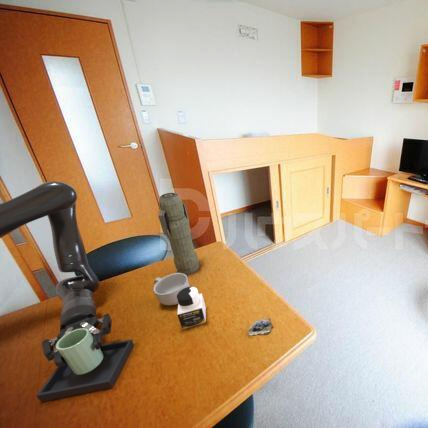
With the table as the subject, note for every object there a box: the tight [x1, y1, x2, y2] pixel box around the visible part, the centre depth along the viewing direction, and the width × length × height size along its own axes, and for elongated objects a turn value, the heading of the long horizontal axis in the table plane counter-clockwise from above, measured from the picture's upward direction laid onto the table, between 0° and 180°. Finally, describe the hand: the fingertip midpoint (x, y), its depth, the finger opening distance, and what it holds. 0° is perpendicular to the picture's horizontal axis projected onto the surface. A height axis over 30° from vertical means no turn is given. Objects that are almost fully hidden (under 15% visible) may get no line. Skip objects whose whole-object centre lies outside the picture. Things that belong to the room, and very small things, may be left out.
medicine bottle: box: [176, 286, 207, 330], centre depth 79 cm, size 7×7×12 cm
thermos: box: [157, 192, 200, 276], centre depth 98 cm, size 9×12×35 cm
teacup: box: [153, 272, 191, 306], centre depth 88 cm, size 14×11×8 cm
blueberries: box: [247, 318, 274, 336], centre depth 78 cm, size 7×8×2 cm
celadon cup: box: [55, 328, 103, 375], centre depth 62 cm, size 6×6×10 cm
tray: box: [35, 339, 135, 402], centre depth 65 cm, size 15×12×3 cm
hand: (79, 355), depth 60 cm, fingers closed on celadon cup, 6 cm apart
